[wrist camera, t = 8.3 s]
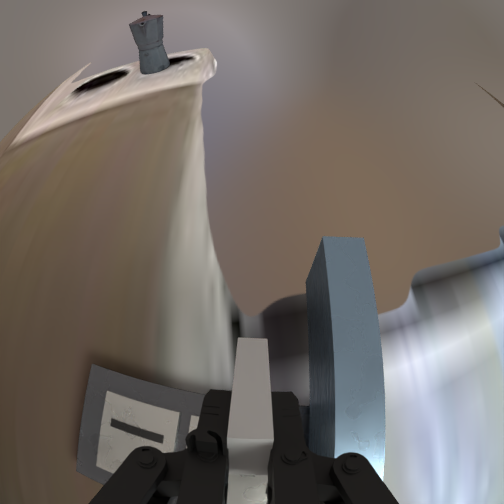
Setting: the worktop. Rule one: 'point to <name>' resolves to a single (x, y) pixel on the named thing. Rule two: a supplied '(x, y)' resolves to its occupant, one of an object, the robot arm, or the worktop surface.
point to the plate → (148, 428)
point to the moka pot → (150, 43)
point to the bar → (345, 354)
